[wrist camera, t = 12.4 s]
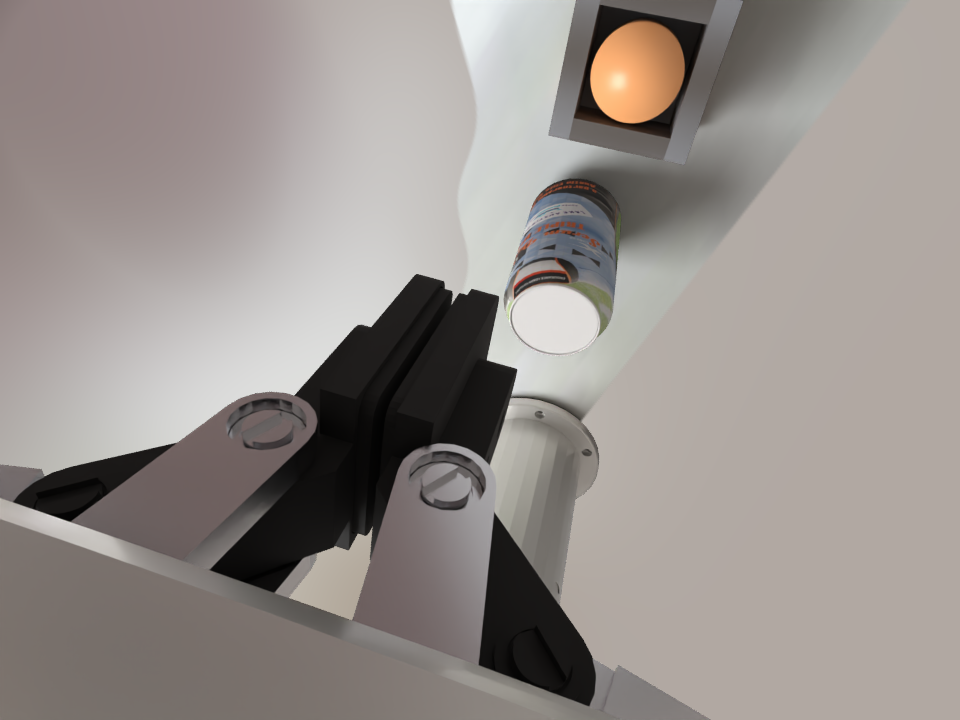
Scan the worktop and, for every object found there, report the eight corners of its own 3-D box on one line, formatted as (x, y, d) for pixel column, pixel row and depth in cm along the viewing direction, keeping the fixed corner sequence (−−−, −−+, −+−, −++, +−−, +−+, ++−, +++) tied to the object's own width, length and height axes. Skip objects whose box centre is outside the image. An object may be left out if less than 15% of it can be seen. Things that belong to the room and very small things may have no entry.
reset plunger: (665, 119, 28) (666, 131, 26) (586, 102, 28) (580, 113, 26) (695, 26, 25) (699, 31, 23) (608, 10, 26) (604, 14, 24)
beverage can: (611, 160, 36) (596, 232, 26) (633, 264, 39) (626, 360, 30) (519, 185, 38) (473, 258, 29) (547, 281, 42) (515, 374, 32)
